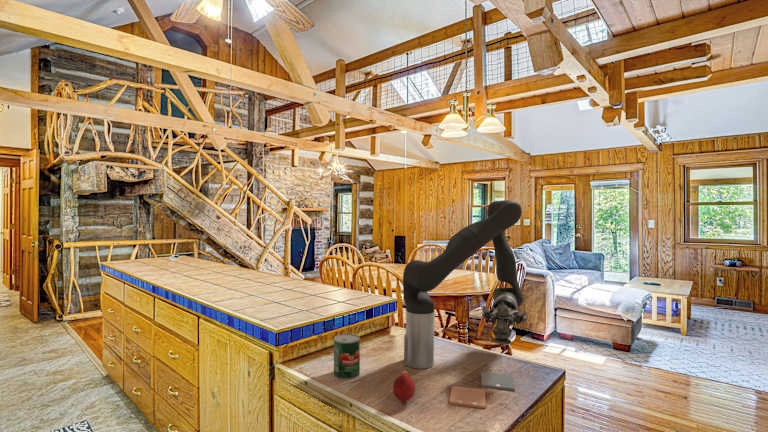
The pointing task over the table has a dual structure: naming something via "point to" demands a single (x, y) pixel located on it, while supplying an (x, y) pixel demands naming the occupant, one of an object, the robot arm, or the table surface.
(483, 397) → the tile two
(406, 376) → the onion
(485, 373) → the tile one
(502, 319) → the salt shaker
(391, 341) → the table surface
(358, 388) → the table surface
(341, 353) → the canned tomato
